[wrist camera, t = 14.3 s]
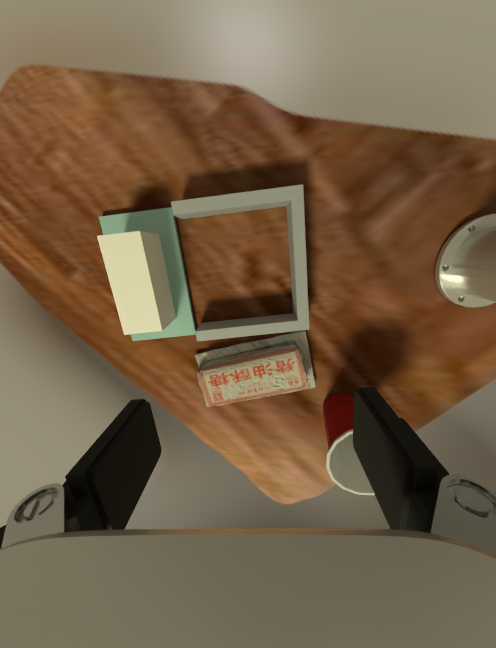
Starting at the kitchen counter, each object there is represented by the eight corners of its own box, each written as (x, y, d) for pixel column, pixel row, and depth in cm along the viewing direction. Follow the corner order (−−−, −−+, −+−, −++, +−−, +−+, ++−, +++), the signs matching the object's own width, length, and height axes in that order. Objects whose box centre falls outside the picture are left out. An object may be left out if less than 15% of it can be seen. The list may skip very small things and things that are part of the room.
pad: (173, 208, 33) (171, 207, 32) (196, 332, 38) (195, 334, 37) (102, 217, 33) (98, 216, 32) (135, 339, 38) (132, 341, 38)
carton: (159, 234, 33) (139, 230, 27) (176, 318, 36) (162, 330, 31) (123, 238, 33) (96, 235, 27) (144, 321, 37) (124, 334, 31)
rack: (296, 192, 32) (303, 184, 28) (303, 321, 37) (309, 329, 33) (180, 207, 33) (170, 201, 29) (202, 332, 38) (197, 341, 34)
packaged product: (207, 421, 38) (188, 365, 35) (212, 402, 42) (195, 351, 39) (322, 399, 36) (312, 339, 33) (314, 382, 41) (304, 328, 38)
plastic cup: (315, 373, 40) (341, 424, 28) (378, 383, 40) (429, 437, 29) (300, 427, 43) (318, 491, 31) (358, 435, 43) (397, 502, 32)
